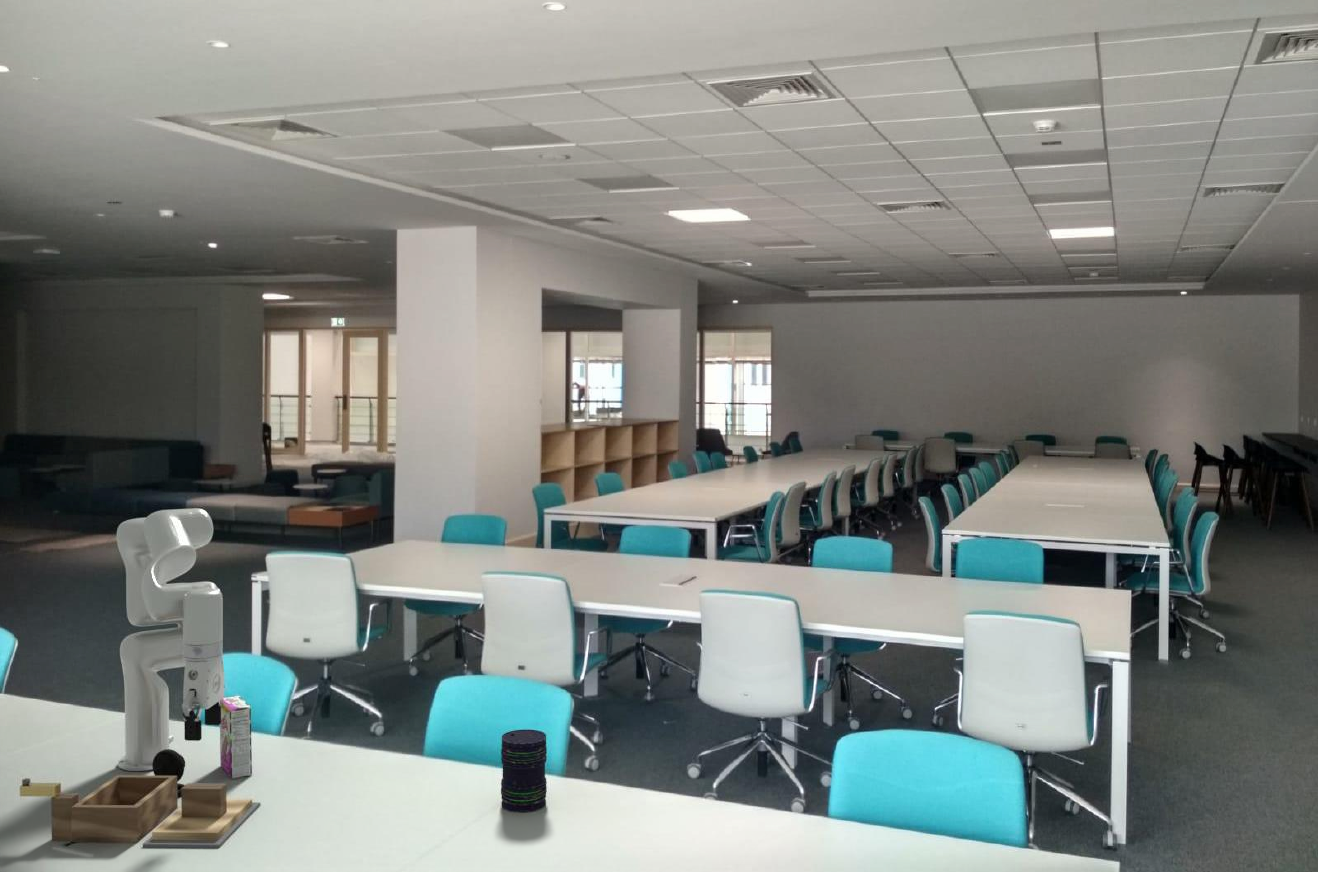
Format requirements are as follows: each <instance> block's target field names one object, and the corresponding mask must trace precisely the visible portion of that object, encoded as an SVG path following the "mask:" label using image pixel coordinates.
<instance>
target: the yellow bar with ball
mask: <svg viewBox="0 0 1318 872" xmlns="http://www.w3.org/2000/svg"><path fill="white" fill-rule="evenodd" d="M60 793H62V783H60V782H31V778H26V777H25V778H23V779H22V780H21V785H20V786H19V797H45V798H46V797H48V798H49V797H50V798H52V797H55V796H57V795H58V794H60Z"/></svg>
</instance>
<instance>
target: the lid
mask: <svg viewBox="0 0 1318 872" xmlns="http://www.w3.org/2000/svg"><path fill="white" fill-rule="evenodd" d="M184 785H185V786H184V787H183V788H181V796H180V798H181V800H180V801H181V804H180V805H181V807H179V809H176V810H175V811H174V812H173V813H172V815H171V816H170V815H169V816H168V817H167V819H165V821H164V822H163V821H162V822H161V823H160V824H159V825H158V826H157V828H154V829H153V830H152V831H151V836H152V840H219V839H220V838H221V837H222V836H223V835H224V834H225V833H226V832H227V831H228V830H229V829H230V828H231V827H232V826H233V825H234V824H235V823H236V822H237V821H238V820H239V819H240V818H241V817H242V816H243V815H244V814H245V813H246V812H247V811H248V810H249V809H250V808H251V807H252V802H253V799H252V798H227V783H205V782H203V783H202V782H201V783H199V782H198V783H196V782H195V783H194V782H191V783H190V782H189V783H188V782H187V783H186V784H184Z"/></svg>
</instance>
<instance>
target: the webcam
mask: <svg viewBox="0 0 1318 872" xmlns="http://www.w3.org/2000/svg"><path fill="white" fill-rule="evenodd" d="M152 767H153V770H152V772H153V776H177V797H178V798H181V788H183V787H184V786H185V785H186V784H182V783H180V782H179V781H180V780H181V779H182V777H183V775H184V773H185V767H186V760H185V758H184V757H183V755H182V754H180V753H179V752H177V751H176V750H174V749H170V748H169V749H165V750H162V751H160V752H158V753H157V754H156V756H155V757H154V760H153V764H152Z"/></svg>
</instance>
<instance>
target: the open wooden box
mask: <svg viewBox="0 0 1318 872" xmlns="http://www.w3.org/2000/svg"><path fill="white" fill-rule="evenodd" d="M177 783H178V782H177V776H155V775H148V774H147V775H138V774H137V775H135V774H134V775H131V774H130V775H129V774H128V775H127V774H126V775H125V774H116V775H115V776H113V777H112V778H110V779H109V780H108V781H106V782H104V783H103V784H102V785H99V787H97V788H96V789H95V790H93V791H92V792H90V793H89V794H87V795H86V796H84V797H83V798H81V800H79V792H77V793H76V792H75V793H69V792H68V793H67V792H65V793H63V792H61V793H60V794H58V795H57V796H55V797H50V799H51V806H50V807H51V810H50V811H51V813H50V815H51V841H55V842H56V841H58V842H59V841H61V842H62V841H71V843H121V844H122V843H125V844H127V843H128V844H130V843H134V844H135V843H139V842H140V841H142V840H143V838H145V837H146V836H147V835H148V834H149V833H151V832H153V831H154V830H155V829H156V827H158V826H160V825H161V824H162V823H163V821H164V820H167V819H168V818H169V817H170V815H171V814H173V813H175V812H176V811H177V810H178V808H179V806H178V801H179V800H178V798H179V797H177V791H178V790H177ZM166 818H167V819H166Z"/></svg>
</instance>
